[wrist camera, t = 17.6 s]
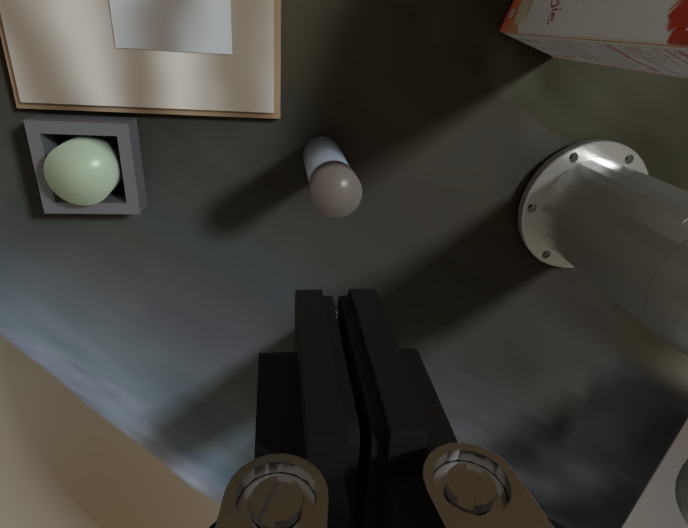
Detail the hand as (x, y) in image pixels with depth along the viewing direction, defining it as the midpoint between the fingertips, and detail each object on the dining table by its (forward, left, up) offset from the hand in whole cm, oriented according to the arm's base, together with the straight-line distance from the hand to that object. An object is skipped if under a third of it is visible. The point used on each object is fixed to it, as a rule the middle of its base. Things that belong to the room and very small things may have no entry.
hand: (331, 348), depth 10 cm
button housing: (+15, +5, -32) cm, 35 cm away
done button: (+15, +5, -31) cm, 35 cm away
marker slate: (-3, +4, -32) cm, 32 cm away
